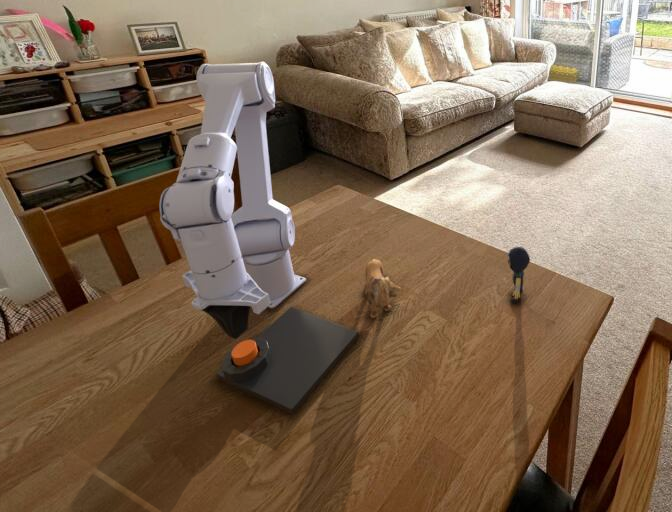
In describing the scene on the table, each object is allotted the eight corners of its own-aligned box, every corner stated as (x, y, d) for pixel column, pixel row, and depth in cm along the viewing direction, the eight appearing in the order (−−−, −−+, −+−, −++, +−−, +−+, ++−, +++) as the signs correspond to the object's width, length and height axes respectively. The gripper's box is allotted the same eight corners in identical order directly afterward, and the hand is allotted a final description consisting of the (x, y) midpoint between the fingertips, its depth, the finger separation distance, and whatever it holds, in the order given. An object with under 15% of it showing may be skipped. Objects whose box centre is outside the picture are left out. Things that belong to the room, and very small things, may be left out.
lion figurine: (405, 320, 73) (401, 281, 69) (375, 333, 70) (370, 293, 67) (381, 271, 84) (376, 236, 81) (354, 281, 81) (349, 244, 78)
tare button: (228, 362, 61) (226, 354, 61) (247, 345, 64) (245, 337, 64) (244, 369, 60) (241, 360, 60) (262, 351, 63) (260, 343, 63)
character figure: (507, 280, 82) (509, 232, 78) (527, 281, 82) (530, 233, 78) (505, 317, 74) (506, 264, 69) (527, 318, 74) (530, 265, 69)
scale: (216, 379, 62) (212, 365, 60) (292, 311, 74) (289, 298, 73) (292, 415, 57) (288, 401, 56) (359, 336, 69) (357, 323, 68)
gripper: (148, 264, 54) (177, 338, 59) (226, 294, 50) (249, 371, 55) (201, 234, 60) (223, 304, 65) (275, 258, 56) (292, 331, 61)
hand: (238, 332), depth 60 cm, fingers closed
